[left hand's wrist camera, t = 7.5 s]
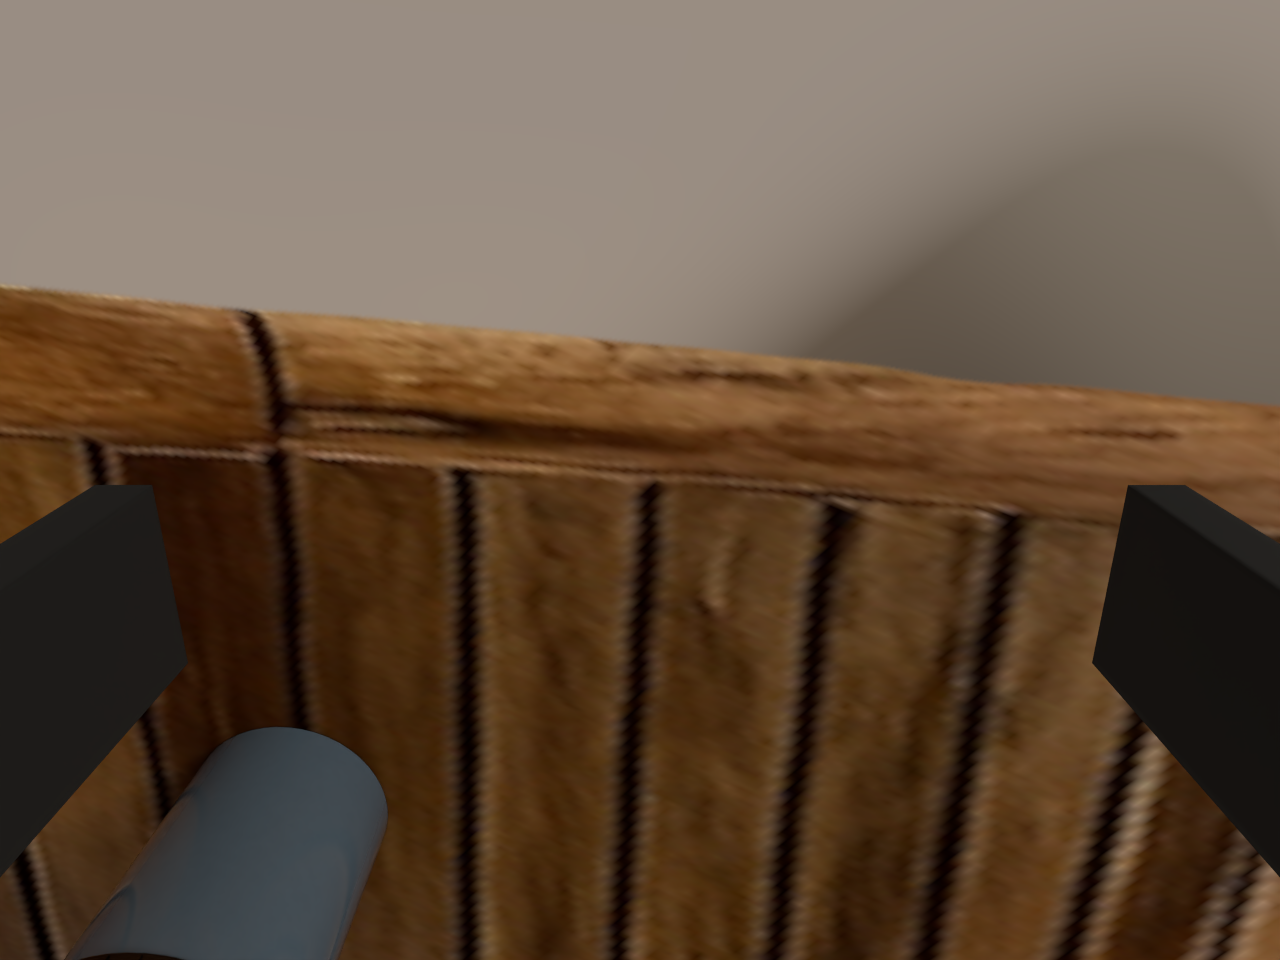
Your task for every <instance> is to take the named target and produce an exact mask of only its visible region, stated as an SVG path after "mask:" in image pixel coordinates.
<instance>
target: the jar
mask: <svg viewBox="0 0 1280 960" xmlns="http://www.w3.org/2000/svg"><path fill="white" fill-rule="evenodd" d="M387 819H388V812H387V803H386V799H385V795H384V792H383V790H382V787H381V785H380V783H379V781H378V779H377V778H376V776H375V775H374V773H373V772H372V771H371V769H370V768H369V767H368V765H367V764H366V763H365V762H364V761H363V760H362V759H361V758H360V757H358V756H357V755H356V754H355V753H354V752H352V751H351V750H350V749H348V748H347V747H345V746H344V745H342V744H340V743H339V742H337V741H335V740H333V739H331V738H329V737H326V736H323V735H321V734H318V733H315V732H311V731H308V730H304V729H297V728H291V727H268V728H260V729H255V730H251V731H248V732H244V733H241V734H239V735H237V736H235V737H233V738H230V739H229V740H227V741H226V742H224V743H222V744H221V745H219V746H218V747H217V748H216V749H215V750H214V751H213V752H212V753H211V754H210V755H209V756H208V758H207V759H206V760H205V761H204V763H203V764H202V766H201V767H200V768H199V770H198V771H197V773H196V774H195V776H194V777H193V778H192V780H191V781H190V783H189V784H188V785H187V787H186V788H185V790H184V791H183V792H182V794H181V795H180V797H179V798H178V800H177V801H176V802H175V804H174V805H173V807H172V808H171V809H170V811H169V812H168V814H167V815H166V816H165V818H164V819H163V821H162V822H161V824H160V825H159V826H158V828H157V829H156V831H155V832H154V833H153V835H152V836H151V838H150V839H149V840H148V842H147V843H146V845H145V846H144V848H143V849H142V850H141V852H140V853H139V855H138V856H137V857H136V859H135V860H134V862H133V863H132V864H131V866H130V867H129V869H128V870H127V871H126V873H125V874H124V876H123V877H122V879H121V880H120V881H119V883H118V884H117V886H116V887H115V888H114V890H113V891H112V893H111V894H110V895H109V897H108V898H107V900H106V901H105V903H104V904H103V905H102V907H101V908H100V910H99V911H98V912H97V914H96V915H95V917H94V918H93V919H92V921H91V922H90V924H89V925H88V927H87V928H86V929H85V931H84V932H83V934H82V935H81V936H80V938H79V939H78V941H77V942H76V943H75V945H74V946H73V948H72V949H71V951H70V952H69V953H68V955H67V956H66V958H65V959H64V960H79V959H82V958H86V957H90V956H96V955H102V954H109V953H124V952H131V953H150V954H158V955H165V956H171V957H176V958H179V959H184V960H338V959H339V956H340V953H341V951H342V948H343V945H344V943H345V940H346V937H347V935H348V932H349V929H350V926H351V924H352V921H353V918H354V916H355V913H356V910H357V908H358V905H359V902H360V900H361V897H362V894H363V891H364V889H365V886H366V883H367V881H368V878H369V875H370V873H371V870H372V867H373V865H374V862H375V859H376V856H377V854H378V851H379V848H380V846H381V843H382V840H383V838H384V835H385V831H386V827H387Z"/></svg>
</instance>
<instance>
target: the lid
mask: <svg viewBox="0 0 1280 960" xmlns="http://www.w3.org/2000/svg"><path fill="white" fill-rule="evenodd" d="M79 960H184V959H179V958H176V957H171V956H165V955H158V954H150V953H131V952H124V953H109V954H102V955H96V956H90V957H86V958H82V959H79Z"/></svg>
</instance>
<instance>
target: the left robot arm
mask: <svg viewBox="0 0 1280 960" xmlns="http://www.w3.org/2000/svg"><path fill="white" fill-rule="evenodd" d="M187 663H188V661H187V656H186V651H185V647H184V642H183V637H182V632H181V627H180V622H179V617H178V612H177V607H176V602H175V597H174V592H173V587H172V582H171V577H170V572H169V567H168V562H167V557H166V552H165V548H164V543H163V538H162V533H161V528H160V523H159V518H158V513H157V508H156V503H155V498H154V493H153V488H152V485H94V486H93V487H91V488H90V489H88V490H86V491H85V492H83V493H82V494H80V495H78V496H77V497H75V498H74V499H72V500H70V501H69V502H67V503H65V504H64V505H62V506H61V507H59V508H57V509H56V510H54V511H53V512H51V513H49V514H48V515H46V516H45V517H43V518H41V519H40V520H38V521H36V522H35V523H33V524H32V525H30V526H28V527H27V528H25V529H24V530H22V531H20V532H19V533H17V534H16V535H14V536H12V537H11V538H9V539H8V540H6V541H4V542H3V543H1V544H0V877H1V876H2V875H3V873H4V872H5V871H6V870H7V869H8V868H9V867H10V865H11V864H12V863H13V862H14V861H15V860H16V859H17V857H18V856H19V855H20V854H21V853H22V852H23V851H24V849H25V848H26V847H27V846H28V845H29V844H30V843H31V841H32V840H33V839H34V838H35V837H36V836H37V835H38V833H39V832H40V831H41V830H42V829H43V828H44V827H45V825H46V824H47V823H48V822H49V821H50V820H51V819H52V817H53V816H54V815H55V814H56V813H57V812H58V811H59V809H60V808H61V807H62V806H63V805H64V804H65V803H66V801H67V800H68V799H69V798H70V797H71V796H72V795H73V793H74V792H75V791H76V790H77V789H78V788H79V787H80V785H81V784H82V783H83V782H84V781H85V780H86V779H87V777H88V776H89V775H90V774H91V773H92V772H93V771H94V769H95V768H96V767H97V766H98V765H99V764H100V763H101V761H102V760H103V759H104V758H105V757H106V756H107V755H108V753H109V752H110V751H111V750H112V749H113V748H114V747H115V745H116V744H117V743H118V742H119V741H120V740H121V739H122V737H123V736H124V735H125V734H126V733H127V732H128V731H129V729H130V728H131V727H132V726H133V725H134V724H135V723H136V722H137V720H138V719H139V718H140V717H141V716H142V715H143V714H144V712H145V711H146V710H147V709H148V708H149V707H150V706H151V704H152V703H153V702H154V701H155V700H156V699H157V698H158V696H159V695H160V694H161V693H162V692H163V691H164V690H165V688H166V687H167V686H168V685H169V684H170V683H171V682H172V680H173V679H174V678H175V677H176V676H177V675H178V674H179V672H180V671H181V670H182V669H183V668H184V667H185V666H186V664H187ZM1092 663H1093V664H1094V666H1095V667H1096V668H1097V669H1098V670H1099V671H1100V672H1101V674H1102V675H1103V676H1104V677H1105V678H1106V679H1107V680H1108V682H1109V683H1110V684H1111V685H1112V686H1113V687H1114V688H1115V690H1116V691H1117V692H1118V693H1119V694H1120V695H1121V696H1122V698H1123V699H1124V700H1125V701H1126V702H1127V703H1128V704H1129V706H1130V707H1131V708H1132V709H1133V710H1134V711H1135V712H1136V714H1137V715H1138V716H1139V717H1140V718H1141V719H1142V720H1143V722H1144V723H1145V724H1146V725H1147V726H1148V727H1149V728H1150V729H1151V731H1152V732H1153V733H1154V734H1155V735H1156V736H1157V737H1158V739H1159V740H1160V741H1161V742H1162V743H1163V744H1164V745H1165V747H1166V748H1167V749H1168V750H1169V751H1170V752H1171V753H1172V755H1173V756H1174V757H1175V758H1176V759H1177V760H1178V761H1179V763H1180V764H1181V765H1182V766H1183V767H1184V768H1185V769H1186V771H1187V772H1188V773H1189V774H1190V775H1191V776H1192V777H1193V779H1194V780H1195V781H1196V782H1197V783H1198V784H1199V785H1200V787H1201V788H1202V789H1203V790H1204V791H1205V792H1206V793H1207V795H1208V796H1209V797H1210V798H1211V799H1212V800H1213V801H1214V803H1215V804H1216V805H1217V806H1218V807H1219V808H1220V809H1221V811H1222V812H1223V813H1224V814H1225V815H1226V816H1227V817H1228V819H1229V820H1230V821H1231V822H1232V823H1233V824H1234V825H1235V827H1236V828H1237V829H1238V830H1239V831H1240V832H1241V833H1242V835H1243V836H1244V837H1245V838H1246V839H1247V840H1248V841H1249V843H1250V844H1251V845H1252V846H1253V847H1254V848H1255V849H1256V851H1257V852H1258V853H1259V854H1260V855H1261V856H1262V857H1263V859H1264V860H1265V861H1266V862H1267V863H1268V864H1269V865H1270V867H1271V868H1272V869H1273V870H1274V871H1275V872H1276V873H1277V875H1278V876H1279V877H1280V544H1279V543H1277V542H1276V541H1274V540H1272V539H1271V538H1269V537H1268V536H1266V535H1264V534H1263V533H1261V532H1260V531H1258V530H1256V529H1255V528H1253V527H1252V526H1250V525H1248V524H1247V523H1245V522H1244V521H1242V520H1240V519H1239V518H1237V517H1235V516H1234V515H1232V514H1231V513H1229V512H1227V511H1226V510H1224V509H1223V508H1221V507H1219V506H1218V505H1216V504H1215V503H1213V502H1211V501H1210V500H1208V499H1206V498H1205V497H1203V496H1202V495H1200V494H1198V493H1197V492H1195V491H1194V490H1192V489H1190V488H1189V487H1187V486H1186V485H1128V488H1127V493H1126V498H1125V503H1124V508H1123V513H1122V518H1121V523H1120V528H1119V533H1118V538H1117V543H1116V548H1115V552H1114V557H1113V562H1112V567H1111V572H1110V577H1109V582H1108V587H1107V592H1106V597H1105V602H1104V607H1103V612H1102V617H1101V622H1100V627H1099V632H1098V637H1097V642H1096V647H1095V651H1094V656H1093V661H1092Z"/></svg>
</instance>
